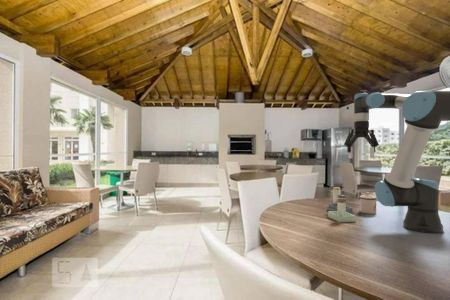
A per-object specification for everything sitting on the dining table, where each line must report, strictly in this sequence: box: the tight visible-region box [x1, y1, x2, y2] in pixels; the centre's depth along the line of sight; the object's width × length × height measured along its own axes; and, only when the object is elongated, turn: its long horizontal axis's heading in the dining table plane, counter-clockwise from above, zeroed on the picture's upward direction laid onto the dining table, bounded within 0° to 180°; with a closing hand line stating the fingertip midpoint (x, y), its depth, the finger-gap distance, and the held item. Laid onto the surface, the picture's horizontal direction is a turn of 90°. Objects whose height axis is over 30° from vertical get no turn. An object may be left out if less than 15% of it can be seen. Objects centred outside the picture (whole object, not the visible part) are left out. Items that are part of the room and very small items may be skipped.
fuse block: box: [326, 202, 355, 215], centre depth 158 cm, size 14×8×4 cm, turn 9°
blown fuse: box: [337, 194, 347, 216], centre depth 143 cm, size 4×4×12 cm
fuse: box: [332, 186, 341, 205], centre depth 162 cm, size 4×4×12 cm
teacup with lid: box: [359, 191, 378, 215], centre depth 160 cm, size 12×9×12 cm
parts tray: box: [327, 210, 357, 223], centre depth 143 cm, size 11×9×3 cm
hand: (361, 158), depth 155 cm, fingers open, 13 cm apart
